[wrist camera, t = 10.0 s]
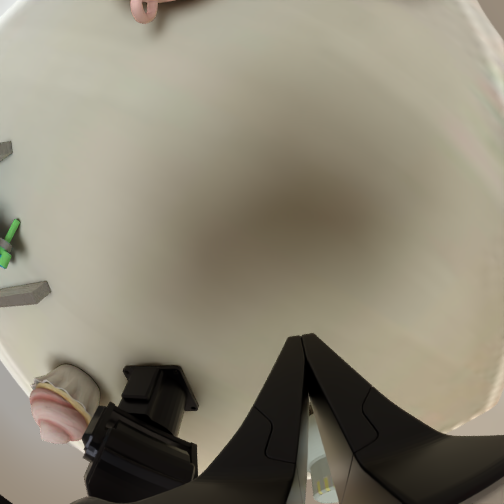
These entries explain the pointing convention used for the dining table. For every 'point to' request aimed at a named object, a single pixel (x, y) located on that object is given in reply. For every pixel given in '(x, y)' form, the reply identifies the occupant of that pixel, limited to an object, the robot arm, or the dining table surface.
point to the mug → (140, 13)
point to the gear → (7, 245)
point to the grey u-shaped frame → (24, 292)
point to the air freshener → (319, 466)
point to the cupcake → (64, 403)
